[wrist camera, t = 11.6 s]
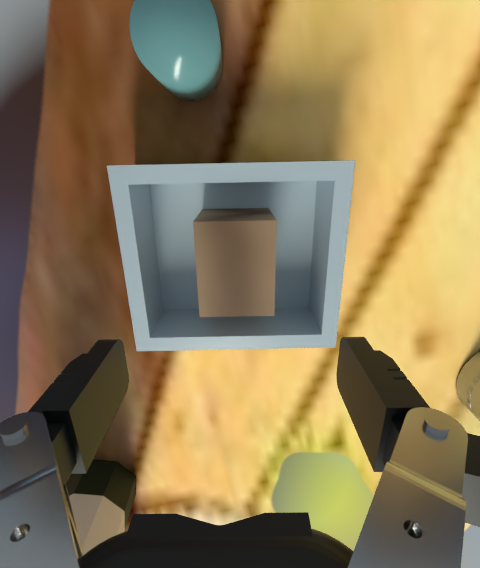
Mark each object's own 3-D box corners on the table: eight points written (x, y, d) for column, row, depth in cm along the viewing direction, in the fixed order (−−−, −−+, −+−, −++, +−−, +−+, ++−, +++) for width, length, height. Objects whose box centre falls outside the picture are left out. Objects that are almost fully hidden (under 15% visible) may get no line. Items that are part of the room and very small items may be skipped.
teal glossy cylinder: (221, 20, 22) (216, -27, 17) (224, 100, 24) (220, 81, 19) (151, 22, 22) (123, -25, 17) (159, 101, 24) (136, 83, 19)
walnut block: (268, 207, 26) (276, 220, 21) (267, 285, 29) (274, 315, 23) (202, 208, 26) (192, 221, 21) (207, 286, 29) (199, 317, 23)
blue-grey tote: (329, 160, 26) (355, 160, 20) (317, 313, 31) (335, 347, 25) (135, 164, 26) (106, 165, 20) (155, 316, 31) (136, 351, 25)
